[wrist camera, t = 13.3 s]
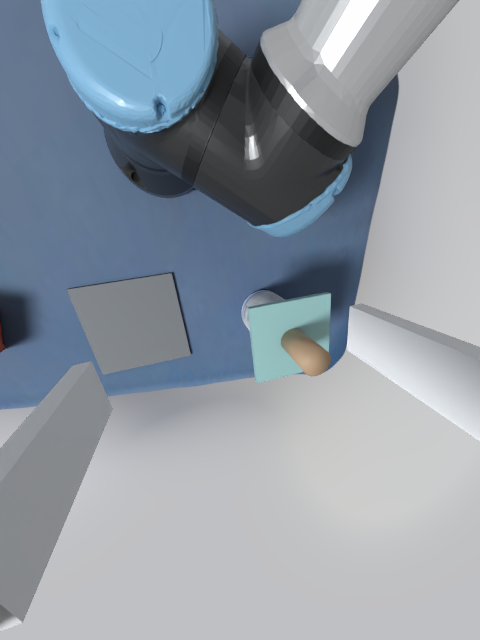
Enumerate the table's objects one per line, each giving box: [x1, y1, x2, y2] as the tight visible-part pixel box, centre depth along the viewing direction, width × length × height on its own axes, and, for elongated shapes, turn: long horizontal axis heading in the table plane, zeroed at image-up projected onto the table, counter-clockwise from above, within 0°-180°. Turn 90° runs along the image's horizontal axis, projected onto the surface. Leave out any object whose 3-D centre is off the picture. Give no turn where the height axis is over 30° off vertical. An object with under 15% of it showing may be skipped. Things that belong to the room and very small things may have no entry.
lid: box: [247, 292, 331, 383], centre depth 32 cm, size 13×13×8 cm
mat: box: [67, 273, 191, 375], centre depth 44 cm, size 18×18×1 cm
